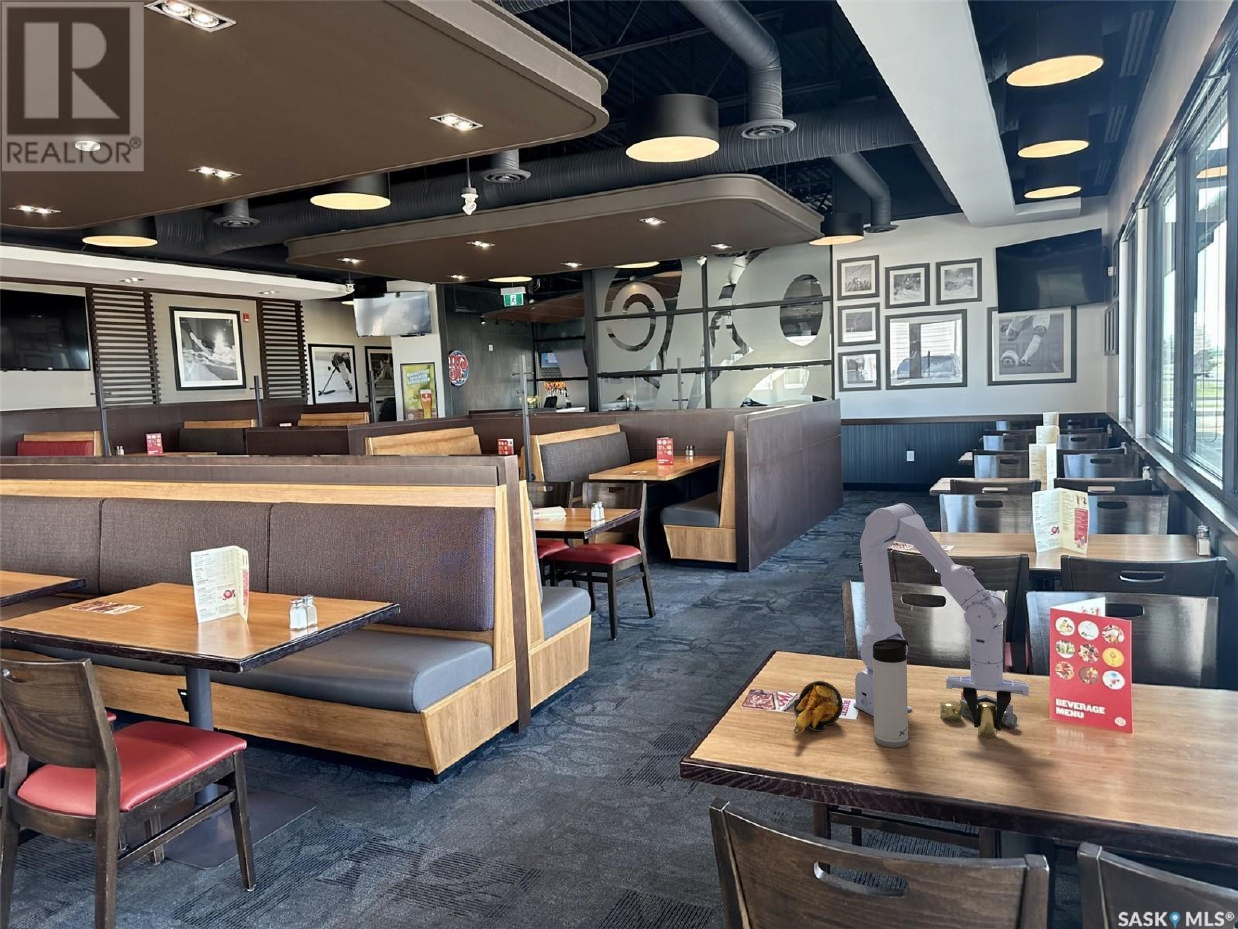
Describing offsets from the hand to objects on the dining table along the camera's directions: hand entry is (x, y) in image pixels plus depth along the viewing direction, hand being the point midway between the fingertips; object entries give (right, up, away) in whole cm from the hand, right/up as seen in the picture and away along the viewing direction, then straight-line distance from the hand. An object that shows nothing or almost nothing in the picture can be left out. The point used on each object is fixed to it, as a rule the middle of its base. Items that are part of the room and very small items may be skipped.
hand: (987, 727), depth 158 cm
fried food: (-32, -3, +7) cm, 33 cm away
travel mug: (-19, -3, -1) cm, 19 cm away
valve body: (+4, -1, +8) cm, 9 cm away
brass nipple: (0, -2, 0) cm, 2 cm away
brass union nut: (-3, -1, +9) cm, 10 cm away
